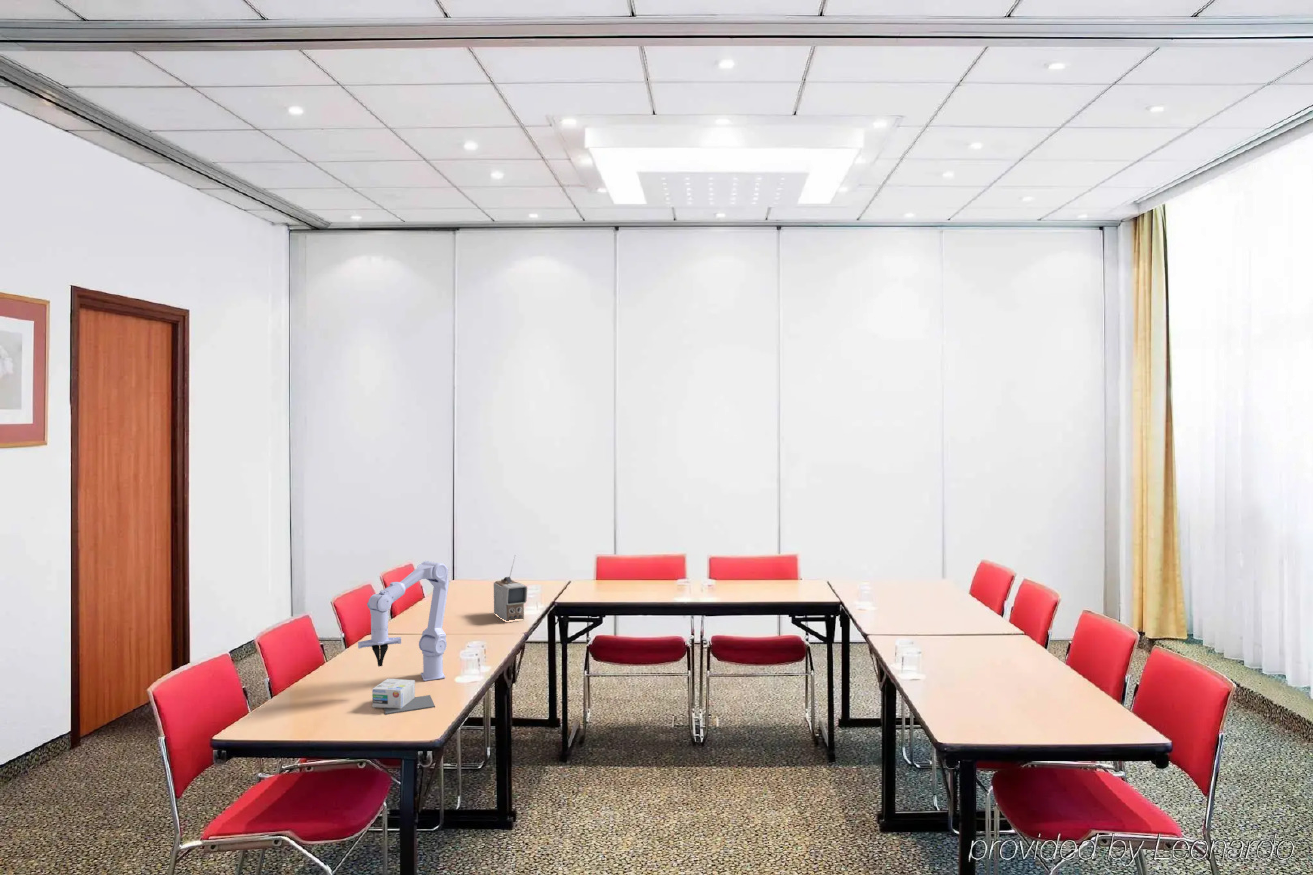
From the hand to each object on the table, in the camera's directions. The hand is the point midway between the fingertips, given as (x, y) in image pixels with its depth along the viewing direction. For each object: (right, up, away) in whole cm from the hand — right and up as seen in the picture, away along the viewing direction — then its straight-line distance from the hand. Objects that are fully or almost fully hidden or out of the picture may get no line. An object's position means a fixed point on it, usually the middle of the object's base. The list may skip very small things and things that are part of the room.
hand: (380, 665), depth 277 cm
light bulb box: (+9, -7, -4) cm, 12 cm away
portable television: (+26, -9, +110) cm, 114 cm away
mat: (+14, -10, -11) cm, 20 cm away
